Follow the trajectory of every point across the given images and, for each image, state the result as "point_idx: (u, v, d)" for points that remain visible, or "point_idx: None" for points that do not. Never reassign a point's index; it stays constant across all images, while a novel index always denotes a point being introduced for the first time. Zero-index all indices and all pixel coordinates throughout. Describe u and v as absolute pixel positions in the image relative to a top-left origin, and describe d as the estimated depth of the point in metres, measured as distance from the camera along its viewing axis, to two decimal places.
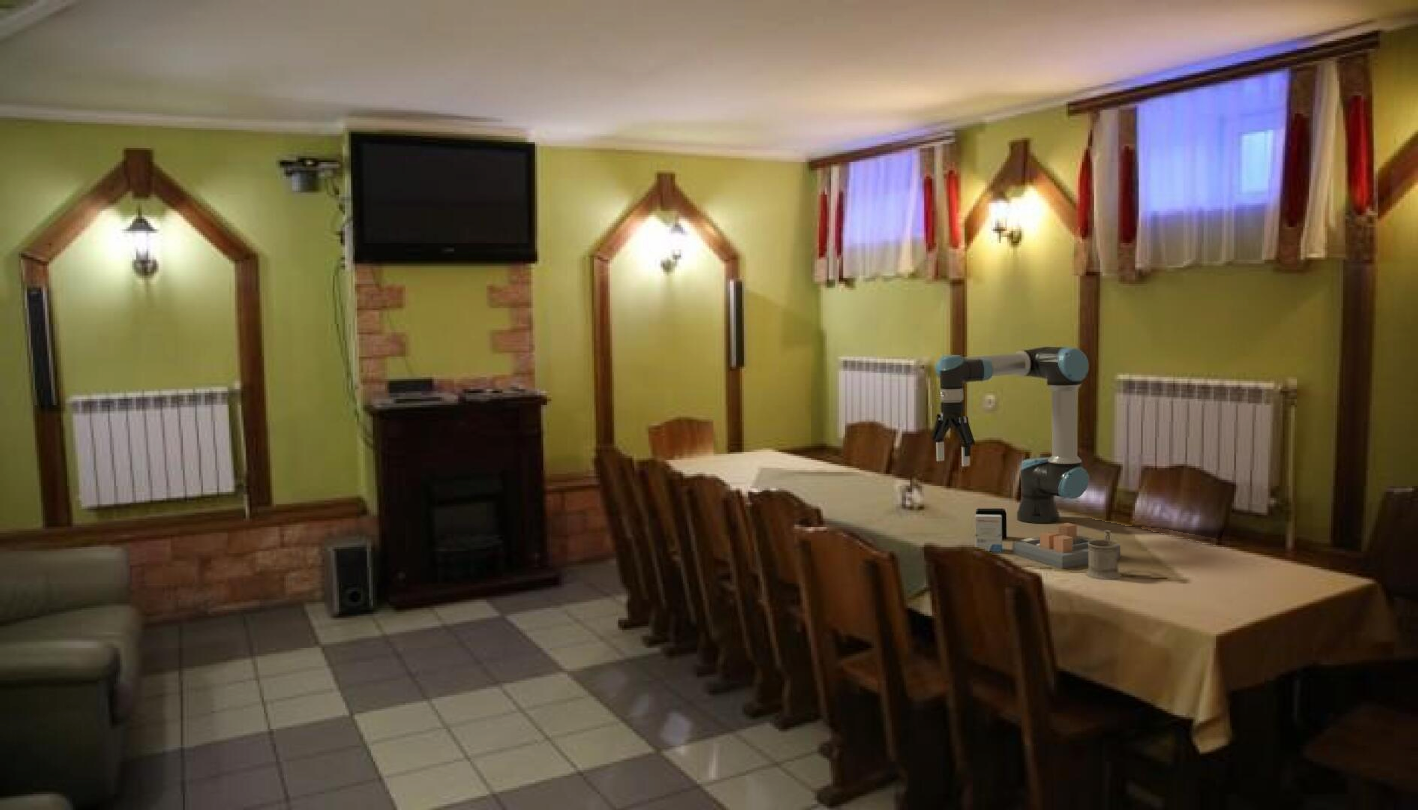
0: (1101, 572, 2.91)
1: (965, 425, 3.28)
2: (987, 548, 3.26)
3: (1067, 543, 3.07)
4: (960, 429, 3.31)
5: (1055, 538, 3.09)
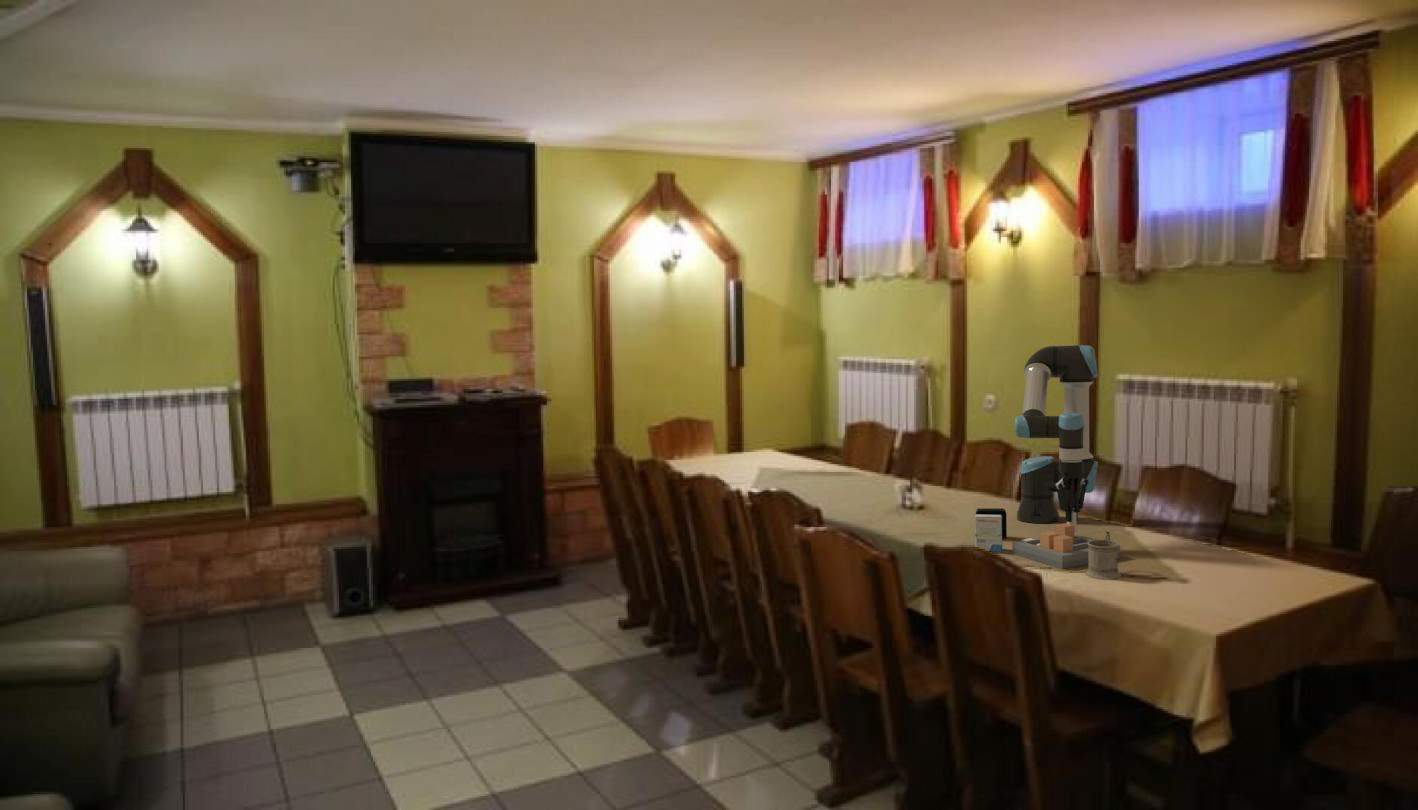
0: (1101, 572, 2.91)
1: (1058, 491, 3.23)
2: (987, 548, 3.26)
3: (1067, 543, 3.07)
4: (1066, 492, 3.24)
5: (1055, 538, 3.09)
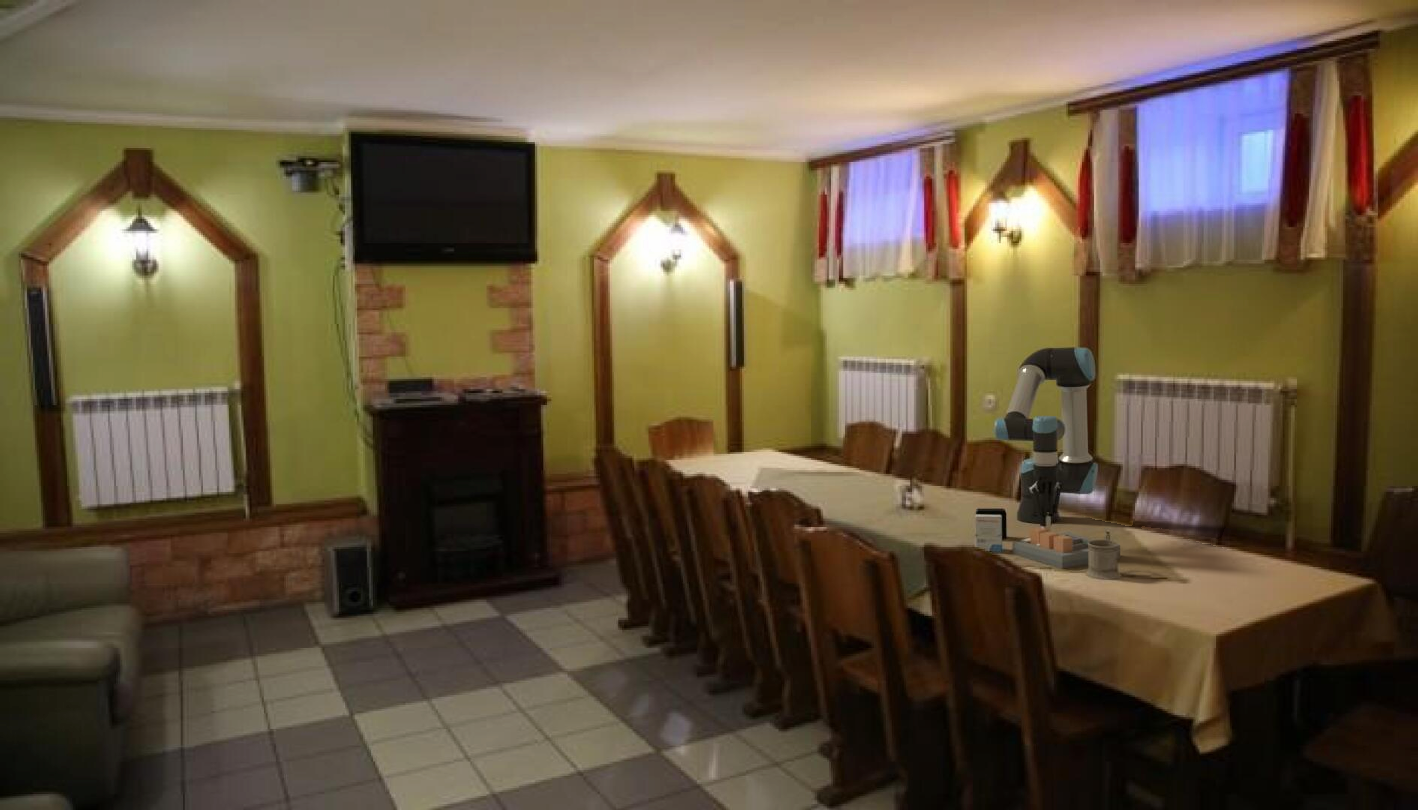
0: (1101, 572, 2.91)
1: (1032, 496, 3.18)
2: (987, 548, 3.26)
3: (1067, 543, 3.07)
4: (1040, 497, 3.20)
5: (1055, 538, 3.09)
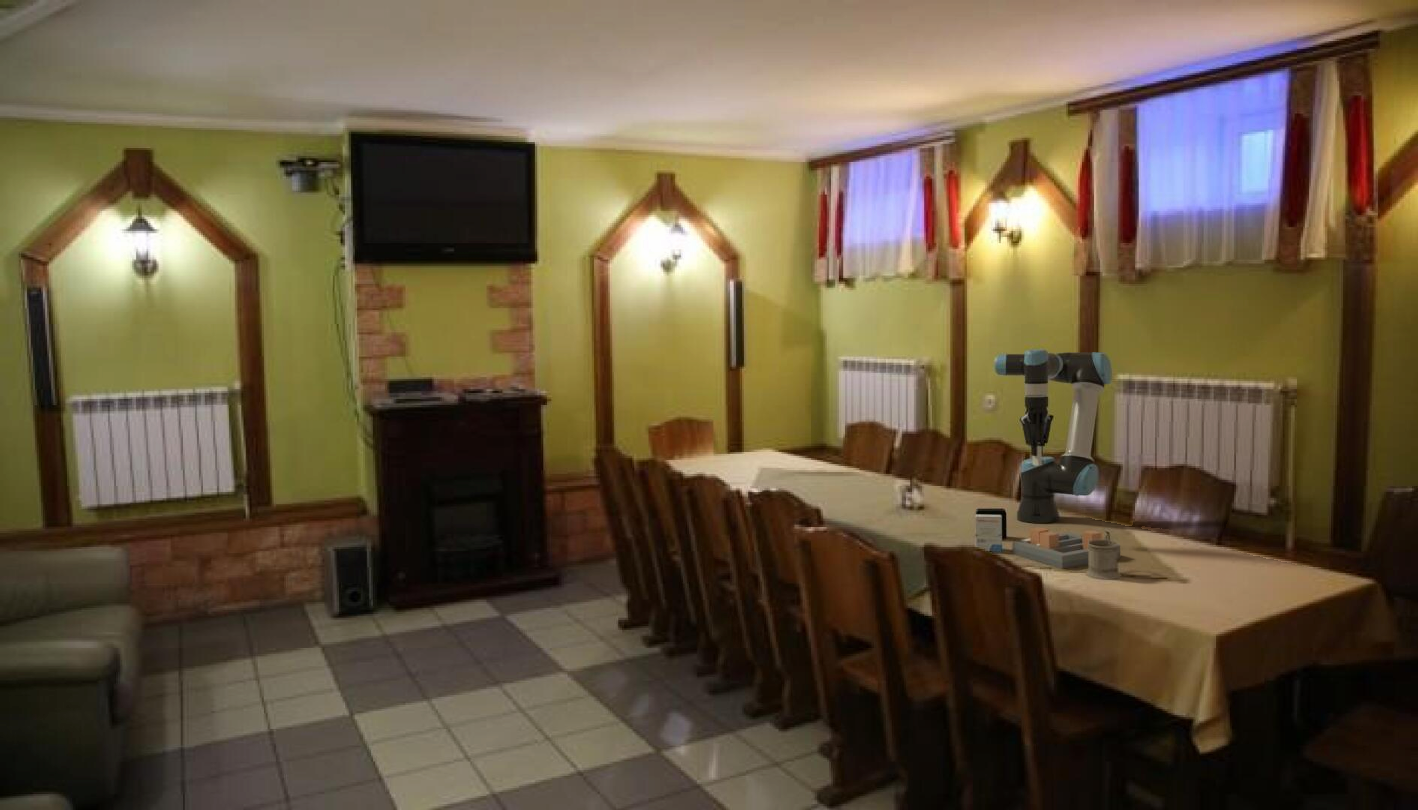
0: (1101, 572, 2.91)
1: (1024, 426, 3.32)
2: (987, 548, 3.26)
3: (1096, 537, 3.12)
4: (1032, 427, 3.33)
5: (1084, 533, 3.14)
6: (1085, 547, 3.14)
